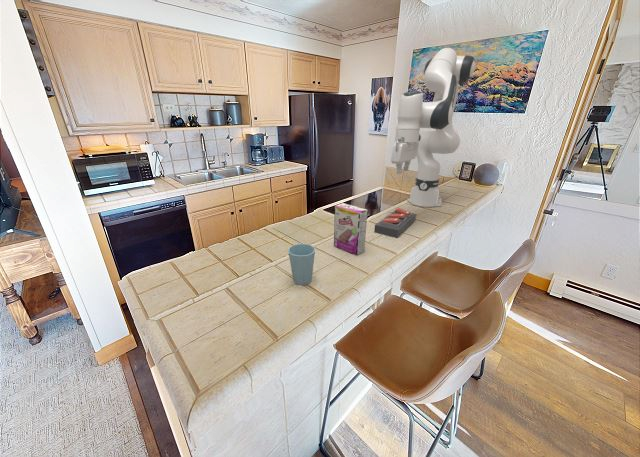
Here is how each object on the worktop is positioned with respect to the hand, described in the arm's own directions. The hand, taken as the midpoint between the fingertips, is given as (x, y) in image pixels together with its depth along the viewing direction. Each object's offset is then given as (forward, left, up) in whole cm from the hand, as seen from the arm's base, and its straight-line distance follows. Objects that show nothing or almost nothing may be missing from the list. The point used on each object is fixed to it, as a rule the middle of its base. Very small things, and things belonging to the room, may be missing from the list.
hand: (402, 172), depth 110 cm
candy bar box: (+32, -6, -25) cm, 41 cm away
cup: (+58, -7, -25) cm, 63 cm away
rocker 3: (-7, 0, -19) cm, 21 cm away
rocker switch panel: (-2, 0, -24) cm, 24 cm away
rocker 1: (+7, 0, -19) cm, 21 cm away
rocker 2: (0, 0, -19) cm, 19 cm away
